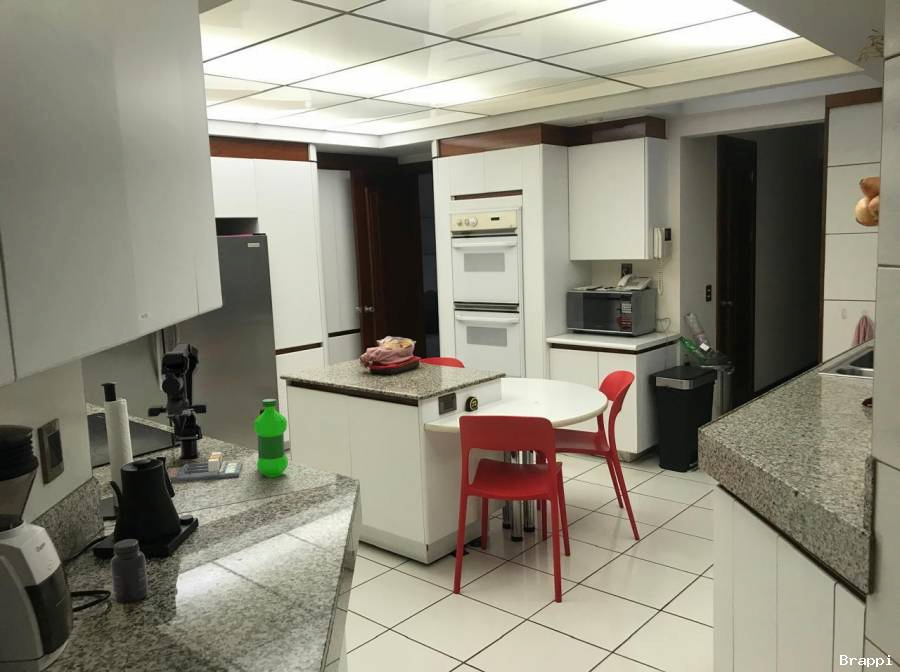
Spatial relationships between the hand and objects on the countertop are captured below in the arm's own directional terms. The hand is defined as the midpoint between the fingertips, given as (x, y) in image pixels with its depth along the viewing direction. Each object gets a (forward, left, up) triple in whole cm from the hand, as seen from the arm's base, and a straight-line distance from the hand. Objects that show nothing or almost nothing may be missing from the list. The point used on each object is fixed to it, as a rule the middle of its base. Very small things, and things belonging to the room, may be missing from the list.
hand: (180, 434), depth 246 cm
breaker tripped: (+9, +12, -10) cm, 18 cm away
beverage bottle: (+6, +29, -12) cm, 32 cm away
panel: (+9, +8, -12) cm, 17 cm away
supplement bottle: (+96, +5, -12) cm, 97 cm away
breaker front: (+13, +12, -11) cm, 21 cm away
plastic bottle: (+16, +31, -12) cm, 37 cm away
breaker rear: (+5, +12, -11) cm, 17 cm away
